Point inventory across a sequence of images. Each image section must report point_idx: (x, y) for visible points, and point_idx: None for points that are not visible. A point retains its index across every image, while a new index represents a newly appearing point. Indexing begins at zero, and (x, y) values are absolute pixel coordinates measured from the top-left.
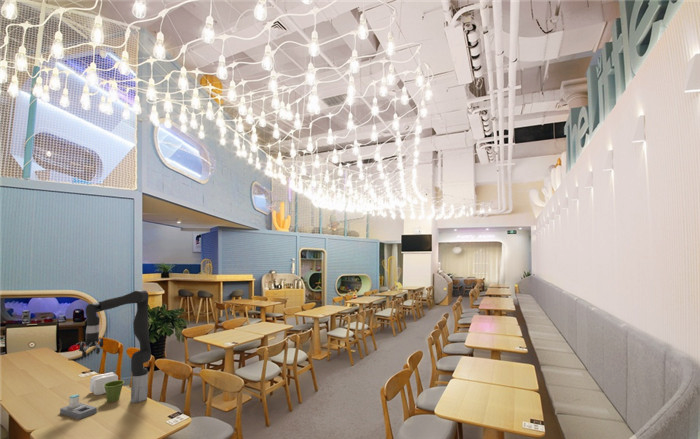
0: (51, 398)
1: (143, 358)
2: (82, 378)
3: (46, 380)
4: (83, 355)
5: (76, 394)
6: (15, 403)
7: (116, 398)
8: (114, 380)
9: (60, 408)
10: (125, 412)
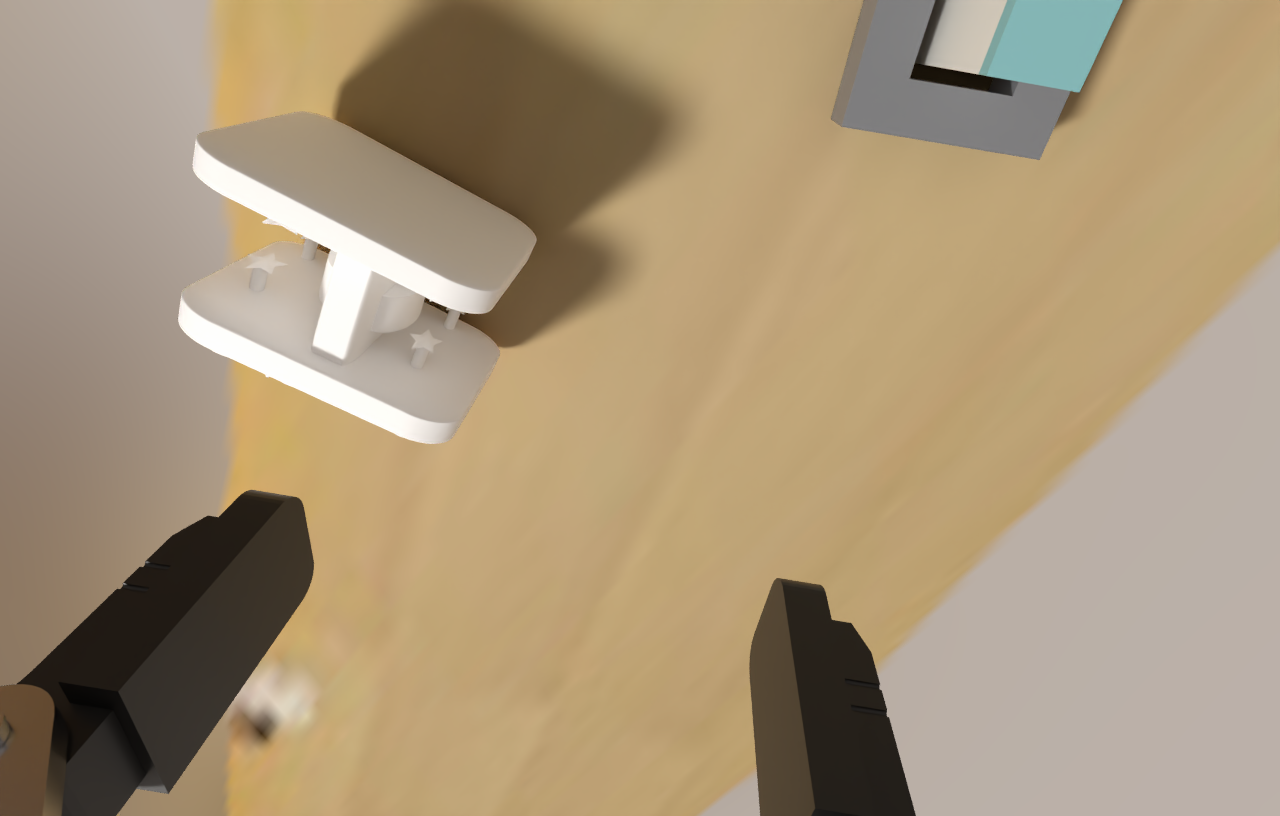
0: (695, 546)
1: None
2: (331, 660)
3: (469, 795)
4: (868, 667)
5: (999, 52)
6: None
7: None
8: (279, 144)
9: (1037, 158)
10: None
